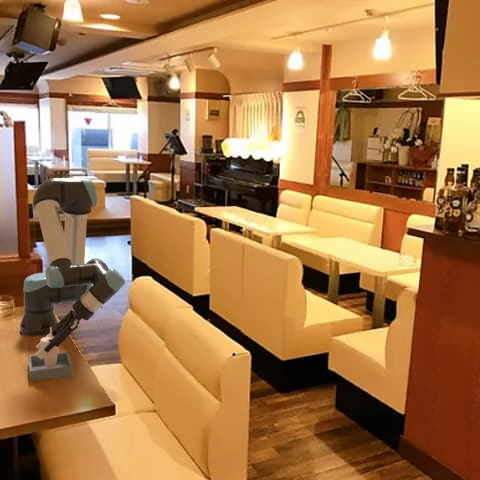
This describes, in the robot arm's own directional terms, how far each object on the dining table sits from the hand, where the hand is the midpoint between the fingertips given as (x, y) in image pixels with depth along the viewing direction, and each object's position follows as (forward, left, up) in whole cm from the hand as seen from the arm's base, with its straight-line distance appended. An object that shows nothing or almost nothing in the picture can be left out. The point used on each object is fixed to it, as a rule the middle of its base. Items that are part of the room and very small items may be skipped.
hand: (38, 352), depth 196 cm
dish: (-1, +3, -7) cm, 8 cm away
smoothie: (-1, +4, -5) cm, 6 cm away
